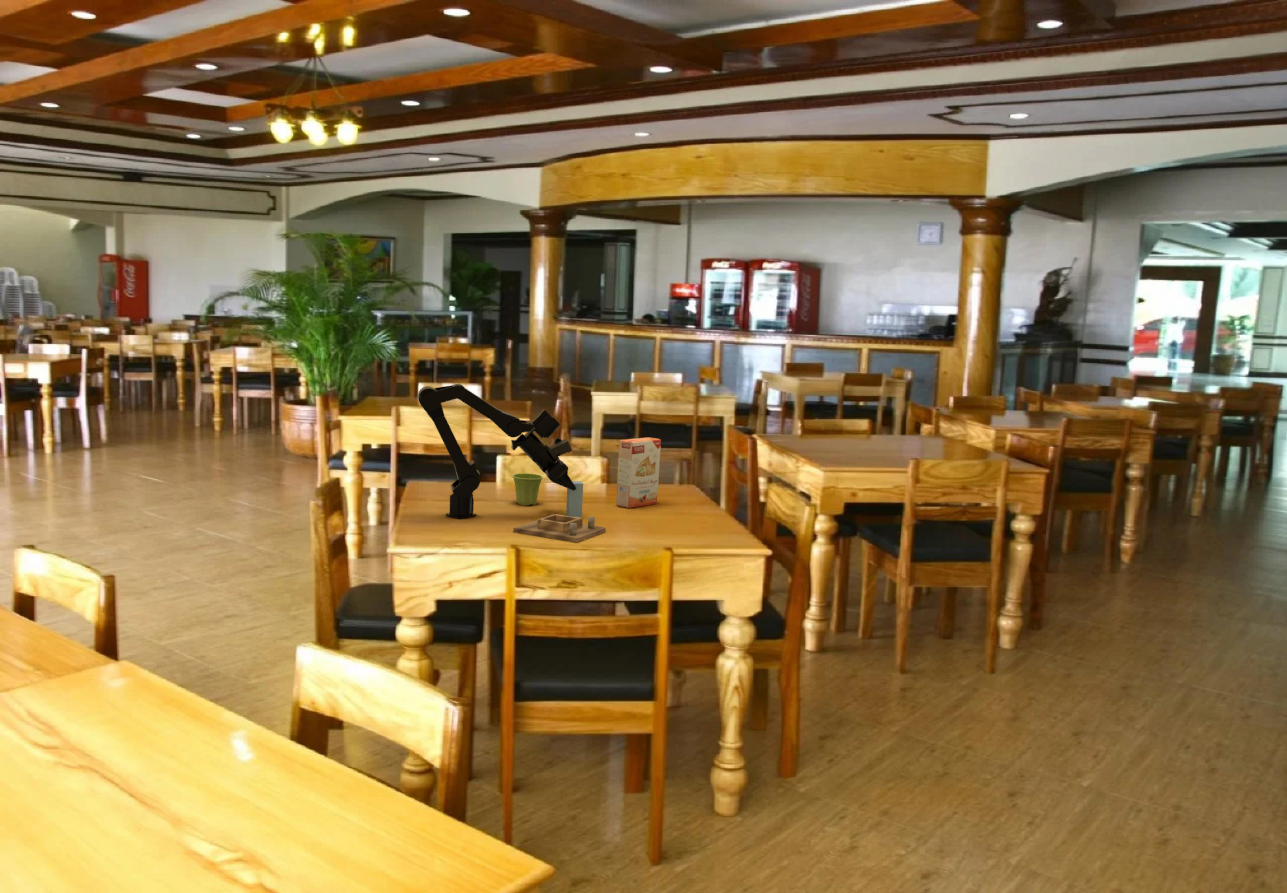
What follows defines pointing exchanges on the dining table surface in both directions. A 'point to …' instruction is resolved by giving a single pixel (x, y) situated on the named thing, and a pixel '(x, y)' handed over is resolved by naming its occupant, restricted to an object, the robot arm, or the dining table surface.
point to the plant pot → (527, 487)
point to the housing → (561, 528)
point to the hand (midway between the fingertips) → (572, 486)
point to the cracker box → (638, 472)
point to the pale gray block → (575, 500)
